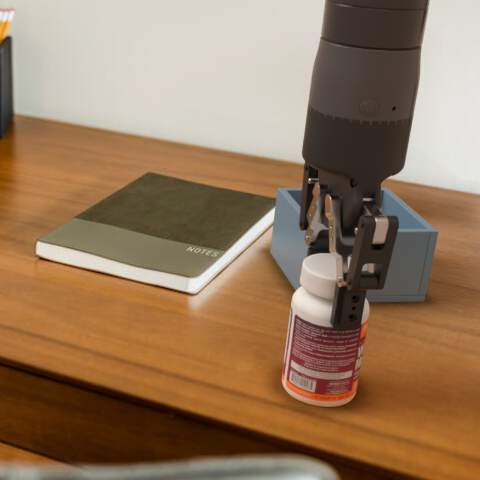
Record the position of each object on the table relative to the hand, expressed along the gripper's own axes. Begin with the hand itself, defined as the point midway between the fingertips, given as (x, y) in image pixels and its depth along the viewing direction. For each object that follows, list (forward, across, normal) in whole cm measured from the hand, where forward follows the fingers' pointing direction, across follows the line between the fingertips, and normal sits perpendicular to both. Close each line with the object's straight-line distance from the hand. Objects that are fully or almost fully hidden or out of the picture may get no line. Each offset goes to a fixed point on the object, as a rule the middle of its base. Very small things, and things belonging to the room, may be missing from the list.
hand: (329, 307), depth 72 cm
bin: (+8, +22, -10) cm, 25 cm away
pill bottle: (+8, 0, 0) cm, 8 cm away
